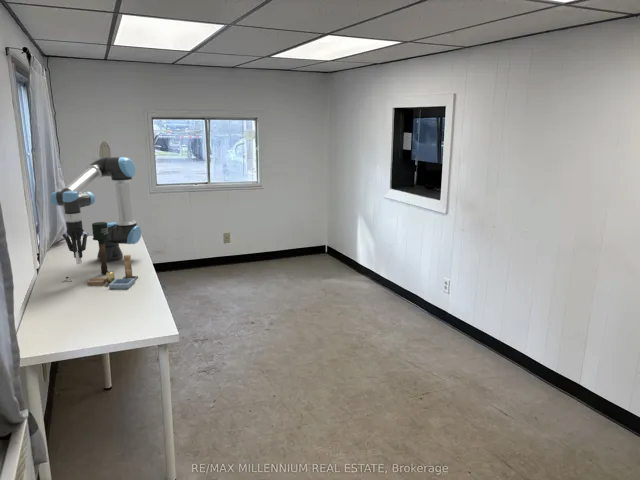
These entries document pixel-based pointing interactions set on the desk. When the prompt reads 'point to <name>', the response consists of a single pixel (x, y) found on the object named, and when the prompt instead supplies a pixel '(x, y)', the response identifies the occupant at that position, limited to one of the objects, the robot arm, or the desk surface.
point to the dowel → (128, 266)
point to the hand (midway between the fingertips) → (79, 263)
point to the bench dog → (110, 277)
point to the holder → (133, 277)
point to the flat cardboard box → (97, 281)
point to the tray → (121, 283)
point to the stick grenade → (101, 242)
